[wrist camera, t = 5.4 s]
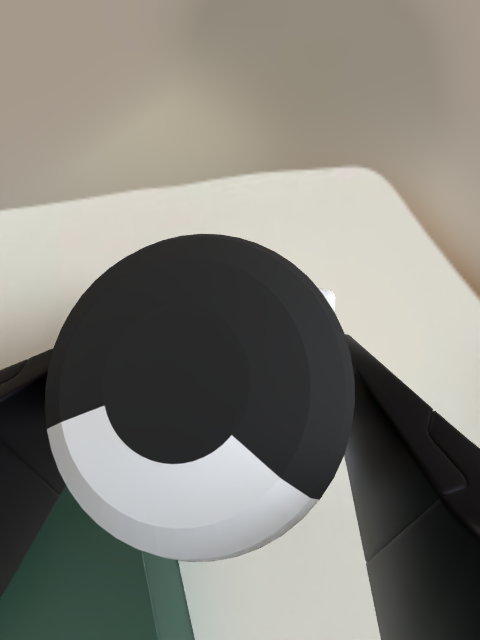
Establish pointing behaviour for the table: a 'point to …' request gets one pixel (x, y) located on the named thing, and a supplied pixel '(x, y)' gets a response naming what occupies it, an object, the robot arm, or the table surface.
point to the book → (92, 586)
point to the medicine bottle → (200, 397)
